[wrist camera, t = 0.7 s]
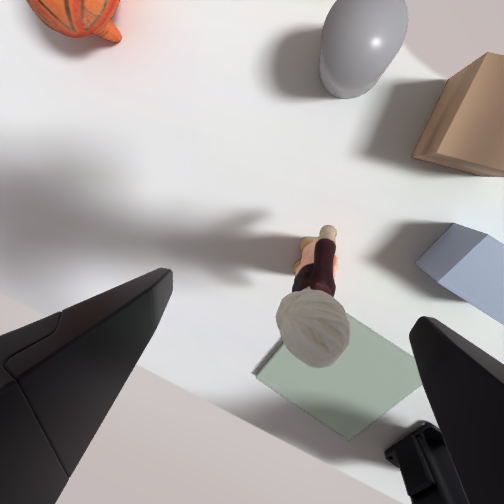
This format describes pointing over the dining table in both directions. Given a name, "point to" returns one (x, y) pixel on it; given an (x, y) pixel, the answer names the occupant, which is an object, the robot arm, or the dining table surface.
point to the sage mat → (346, 381)
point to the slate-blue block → (469, 268)
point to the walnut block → (469, 121)
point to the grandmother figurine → (315, 305)
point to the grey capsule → (360, 44)
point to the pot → (79, 17)
